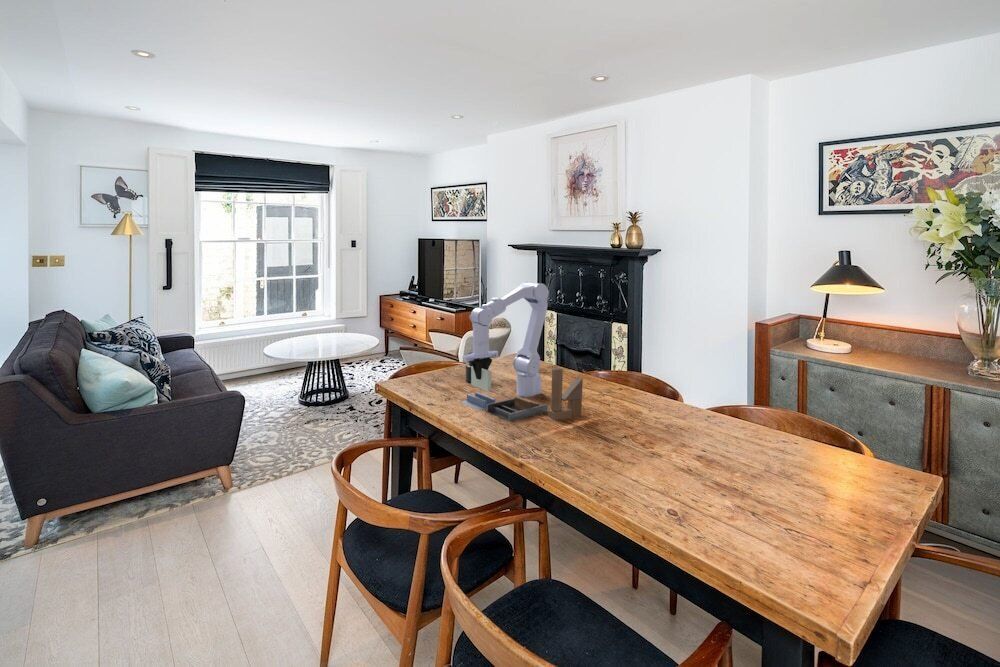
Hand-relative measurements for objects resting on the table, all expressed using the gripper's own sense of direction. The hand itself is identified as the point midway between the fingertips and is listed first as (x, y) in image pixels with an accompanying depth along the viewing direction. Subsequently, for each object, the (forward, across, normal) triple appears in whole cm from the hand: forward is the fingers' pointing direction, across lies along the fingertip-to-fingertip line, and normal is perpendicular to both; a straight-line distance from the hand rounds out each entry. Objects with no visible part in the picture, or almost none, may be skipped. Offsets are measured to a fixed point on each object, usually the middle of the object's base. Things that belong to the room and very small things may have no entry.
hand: (480, 378), depth 192 cm
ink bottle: (+11, +19, +29) cm, 36 cm away
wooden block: (+11, +14, -29) cm, 34 cm away
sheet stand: (+10, 0, 0) cm, 10 cm away
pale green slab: (+3, 0, 0) cm, 3 cm away
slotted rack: (+10, +4, -15) cm, 19 cm away
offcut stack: (+9, +9, -15) cm, 20 cm away
